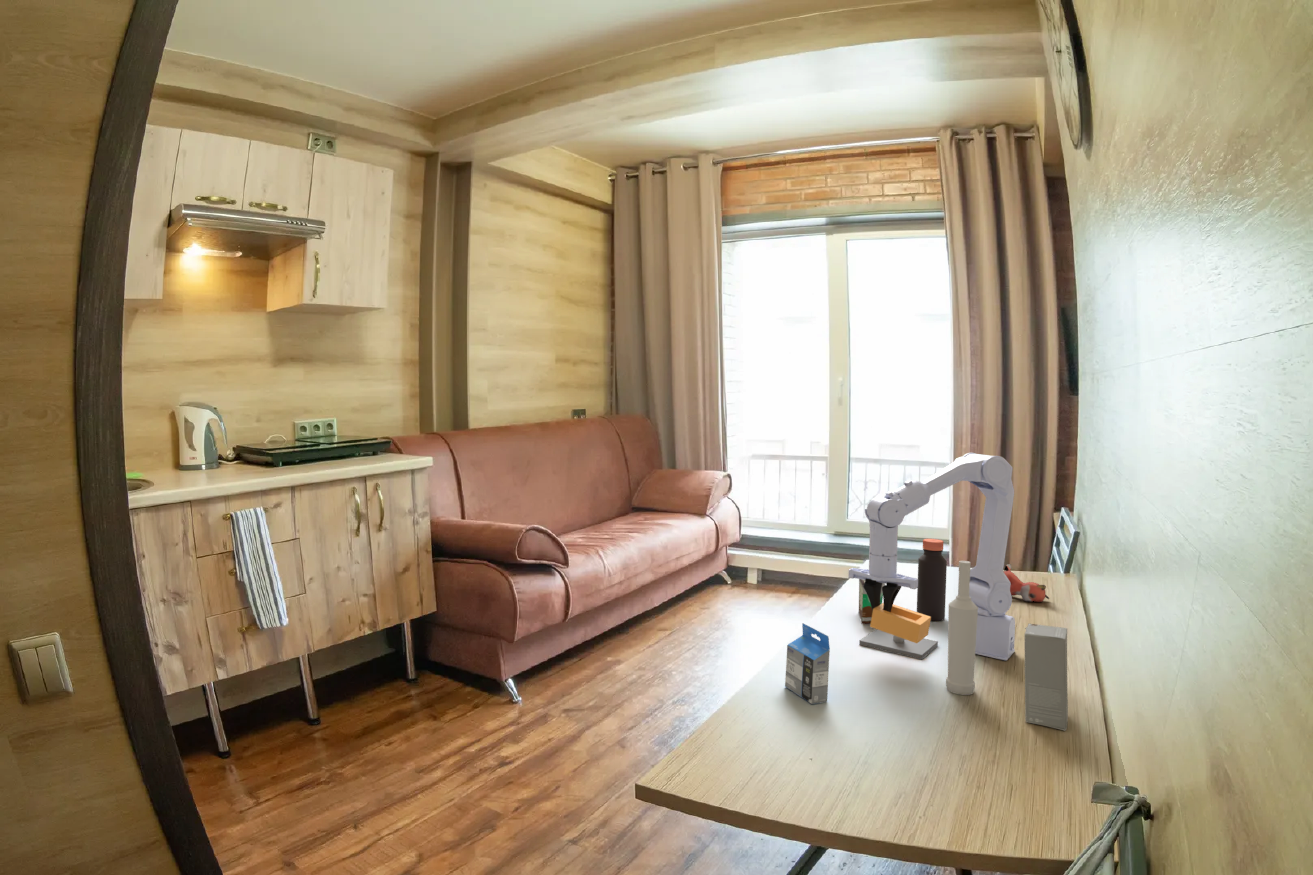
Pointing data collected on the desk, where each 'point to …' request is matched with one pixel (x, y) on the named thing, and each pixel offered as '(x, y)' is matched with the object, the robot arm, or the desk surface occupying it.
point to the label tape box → (808, 666)
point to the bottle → (962, 636)
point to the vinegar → (932, 580)
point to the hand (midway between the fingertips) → (881, 615)
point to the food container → (866, 604)
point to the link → (901, 622)
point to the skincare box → (1046, 676)
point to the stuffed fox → (1025, 587)
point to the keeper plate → (898, 644)
